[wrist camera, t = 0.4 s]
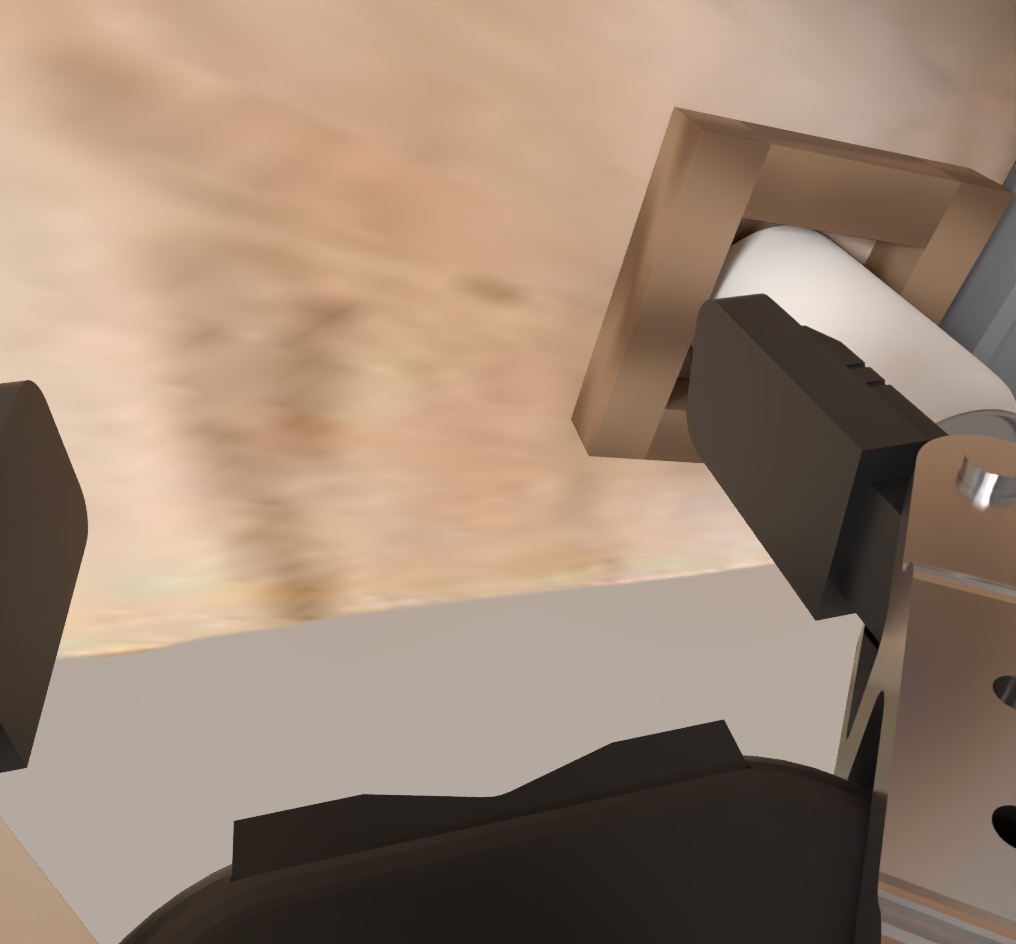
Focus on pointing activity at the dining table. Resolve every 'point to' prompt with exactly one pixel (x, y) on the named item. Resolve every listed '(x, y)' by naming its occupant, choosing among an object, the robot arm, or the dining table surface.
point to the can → (870, 327)
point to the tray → (990, 300)
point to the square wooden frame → (708, 236)
